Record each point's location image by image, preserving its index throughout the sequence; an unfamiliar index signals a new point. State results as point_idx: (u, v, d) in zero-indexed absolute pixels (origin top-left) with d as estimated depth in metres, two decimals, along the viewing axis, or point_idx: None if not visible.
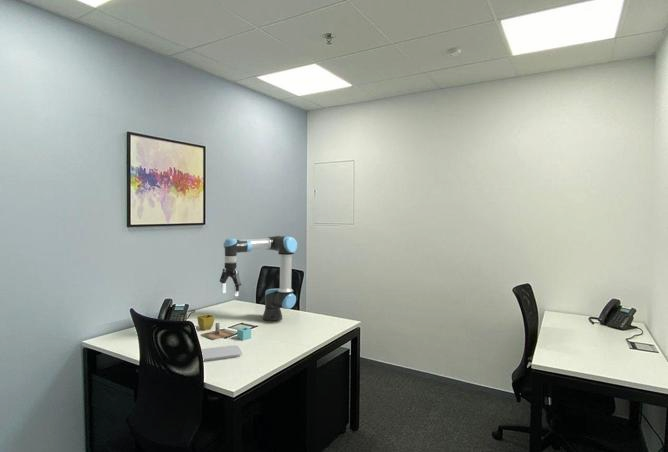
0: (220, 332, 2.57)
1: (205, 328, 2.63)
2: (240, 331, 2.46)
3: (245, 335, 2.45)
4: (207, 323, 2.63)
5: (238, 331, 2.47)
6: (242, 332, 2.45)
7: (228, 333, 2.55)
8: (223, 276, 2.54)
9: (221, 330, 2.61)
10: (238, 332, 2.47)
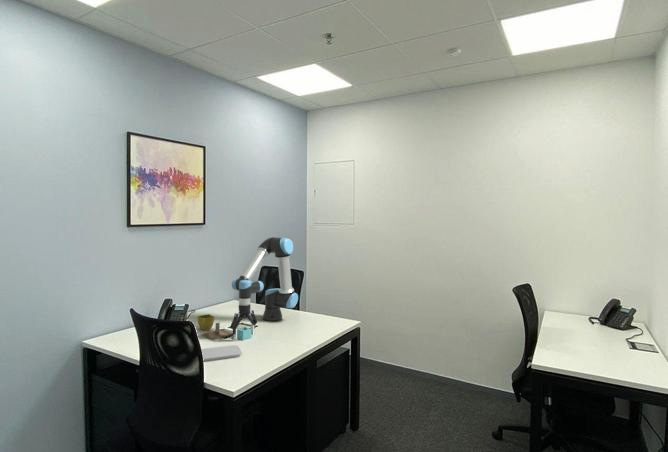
0: (220, 332, 2.57)
1: (205, 328, 2.63)
2: (240, 331, 2.46)
3: (245, 335, 2.45)
4: (207, 323, 2.63)
5: (238, 331, 2.47)
6: (242, 332, 2.45)
7: (228, 333, 2.55)
8: (252, 317, 2.54)
9: (221, 330, 2.61)
10: (238, 332, 2.47)
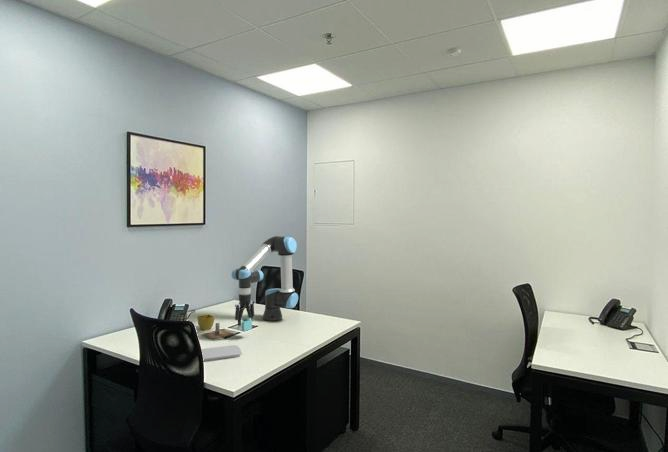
0: (220, 332, 2.57)
1: (205, 328, 2.63)
2: None
3: (245, 326, 2.46)
4: (207, 323, 2.63)
5: None
6: (243, 323, 2.45)
7: (228, 333, 2.55)
8: (251, 309, 2.53)
9: (221, 330, 2.61)
10: None
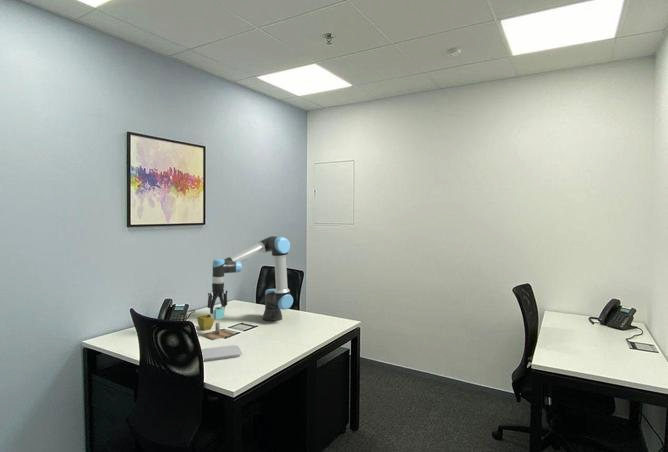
0: (220, 332, 2.57)
1: (205, 328, 2.63)
2: None
3: (217, 314, 2.50)
4: (207, 323, 2.63)
5: None
6: (215, 311, 2.50)
7: (228, 333, 2.55)
8: (224, 298, 2.58)
9: (221, 330, 2.61)
10: None
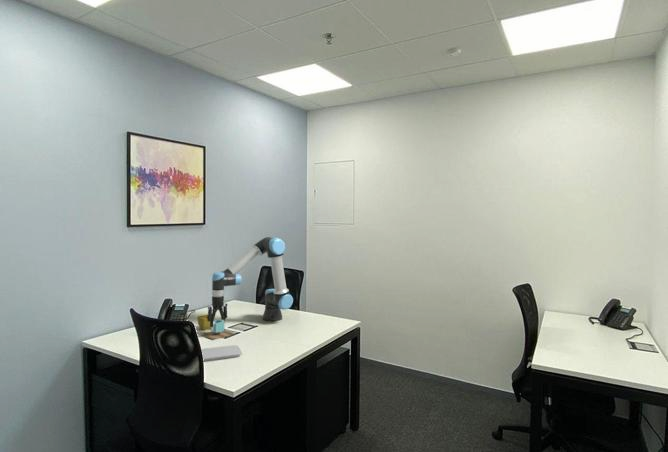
0: (220, 332, 2.57)
1: (205, 328, 2.63)
2: None
3: (217, 327, 2.50)
4: (207, 323, 2.63)
5: None
6: (215, 325, 2.50)
7: (228, 333, 2.55)
8: (224, 311, 2.58)
9: None
10: None
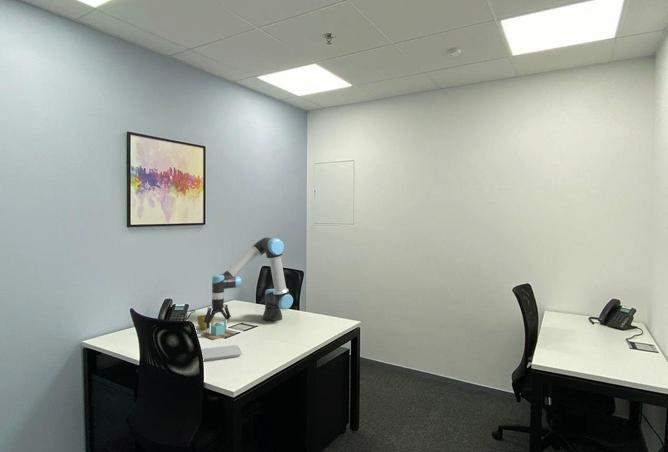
0: None
1: (205, 328, 2.63)
2: (213, 327, 2.51)
3: (218, 331, 2.51)
4: None
5: (211, 327, 2.53)
6: (215, 328, 2.50)
7: (228, 333, 2.55)
8: (226, 312, 2.59)
9: None
10: (211, 328, 2.53)
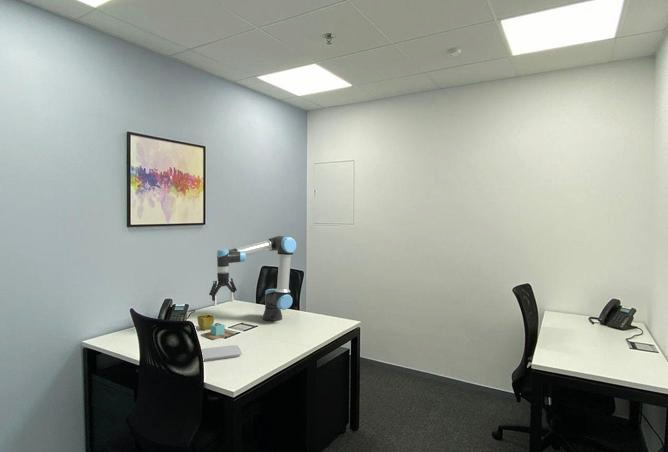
0: None
1: (205, 328, 2.63)
2: (213, 327, 2.51)
3: (218, 331, 2.51)
4: (207, 323, 2.63)
5: (211, 327, 2.53)
6: (215, 328, 2.50)
7: (228, 333, 2.55)
8: (232, 285, 2.63)
9: None
10: (211, 328, 2.53)
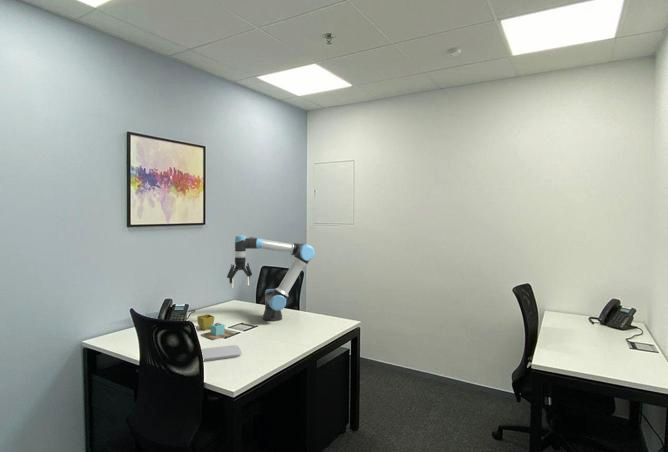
0: None
1: (205, 328, 2.63)
2: (213, 327, 2.51)
3: (218, 331, 2.51)
4: (207, 323, 2.63)
5: (211, 327, 2.53)
6: (215, 328, 2.50)
7: (228, 333, 2.55)
8: (247, 270, 2.80)
9: None
10: (211, 328, 2.53)
